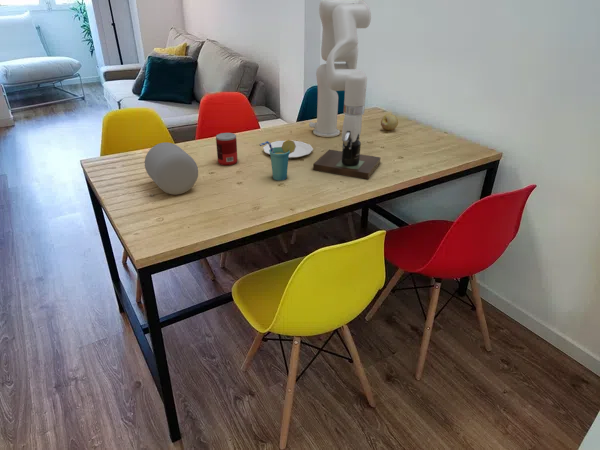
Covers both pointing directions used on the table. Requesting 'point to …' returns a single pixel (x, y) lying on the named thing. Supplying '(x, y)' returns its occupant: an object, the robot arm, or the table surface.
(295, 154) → the plate
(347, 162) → the supplement bottle
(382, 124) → the fruit
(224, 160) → the canned food
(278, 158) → the cup
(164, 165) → the grey rounded cylinder
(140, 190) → the table surface
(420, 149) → the table surface
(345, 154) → the robot arm
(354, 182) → the table surface
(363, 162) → the walnut board
